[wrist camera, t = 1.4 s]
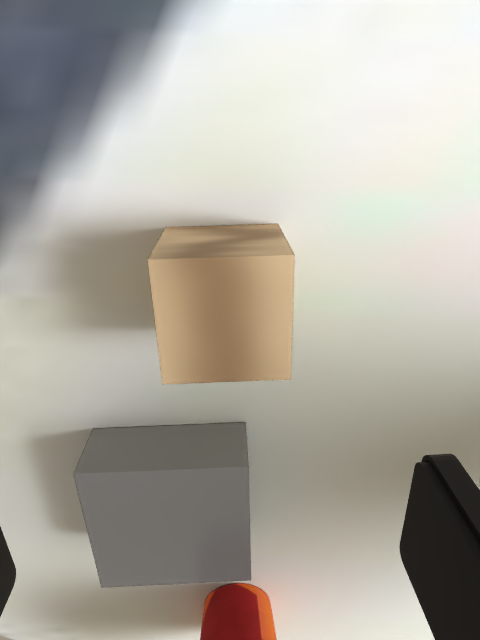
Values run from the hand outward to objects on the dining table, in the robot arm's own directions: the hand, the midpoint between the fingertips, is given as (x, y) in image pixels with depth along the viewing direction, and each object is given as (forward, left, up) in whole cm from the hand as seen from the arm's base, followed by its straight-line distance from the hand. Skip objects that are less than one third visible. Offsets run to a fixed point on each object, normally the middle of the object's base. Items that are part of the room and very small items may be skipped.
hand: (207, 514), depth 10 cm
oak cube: (0, 0, -16) cm, 16 cm away
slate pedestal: (+4, +15, -16) cm, 22 cm away
